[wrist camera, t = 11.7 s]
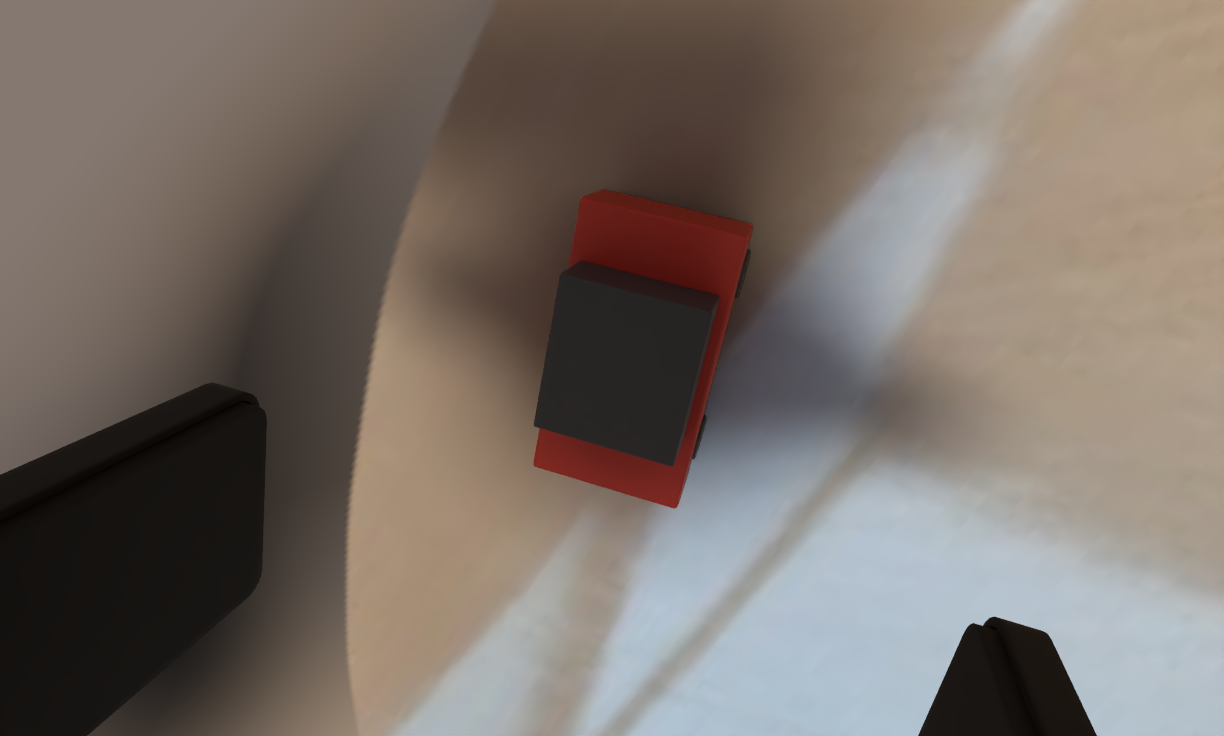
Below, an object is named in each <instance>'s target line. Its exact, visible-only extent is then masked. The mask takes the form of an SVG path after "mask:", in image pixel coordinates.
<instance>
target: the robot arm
mask: <svg viewBox="0 0 1224 736" xmlns="http://www.w3.org/2000/svg"><path fill="white" fill-rule="evenodd" d="M266 427H267V419H266V414H265V411H264V410H263V409H262V408H260V407H259V403H258V401H257V398H256V397H255V396H254V395H252V394H250V393H247V392H243V391H240V390H237V389H234V388H230V387H227V386H223V385H220V384H216V383H209V384H205V385H202V386H200V387H198V388H196V389H193V390H191V391H189V392H187V393H184V394H182V395H180V396H178V397H176V398H173V399H171V400H169V401H166V402H164V403H162V404H159V405H157V406H155V407H153V408H150V409H149V410H146V411H144V412H141V413H139V414H137V415H135V416H132V417H130V418H128V419H126V420H123V421H121V422H119V423H117V424H114V425H112V426H110V427H107V428H105V429H103V430H101V431H98V432H96V433H94V434H92V435H89V436H87V437H85V438H83V439H80V440H78V441H76V442H74V443H71V444H69V445H67V446H65V447H62V448H60V449H58V450H56V451H53V452H51V453H49V454H46V455H44V456H42V457H40V458H37V459H35V460H33V461H31V462H28V463H26V464H24V465H22V466H19V467H17V468H15V469H13V470H10V471H8V472H6V473H3V474H1V475H0V736H87V735H88V734H90V733H91V732H92V731H93V730H94V729H95V728H96V727H98V726H99V725H100V724H101V723H102V722H103V721H105V720H106V719H107V718H108V717H109V716H110V715H112V714H113V713H114V712H115V711H116V710H118V709H119V708H120V707H121V706H122V705H123V704H124V703H126V702H127V701H128V700H129V699H130V698H131V697H133V696H134V695H135V694H136V693H137V692H138V691H140V690H141V689H142V688H143V687H144V686H145V685H147V684H148V683H149V682H150V681H151V680H152V679H153V678H155V677H156V676H157V675H158V674H159V673H161V671H163V670H164V669H165V668H166V667H168V666H169V665H170V664H171V663H172V662H173V661H175V660H176V659H177V658H178V657H179V656H180V655H182V654H183V653H184V652H185V651H186V650H187V649H188V648H190V647H191V646H192V645H193V644H194V643H196V642H197V641H198V640H199V639H200V638H201V637H203V636H204V635H205V634H206V633H207V632H208V631H209V630H211V629H212V628H213V627H214V626H215V625H216V624H218V623H219V622H220V621H221V620H222V619H223V618H225V617H226V616H227V615H228V614H229V613H230V612H231V611H232V610H234V609H235V608H236V607H237V606H239V605H240V604H241V603H242V602H243V601H244V600H245V599H247V598H248V597H249V596H250V595H251V593H252V592H253V591H254V589H255V588H256V586H257V584H258V582H259V579H260V577H261V572H262V552H263V522H264V521H263V520H264V489H265V458H266ZM918 736H1097V735H1096V733H1095V731H1094V729H1093V727H1092V725H1091V722H1090V720H1089V718H1088V716H1087V714H1086V712H1085V710H1084V708H1083V706H1082V703H1081V701H1080V699H1079V697H1078V695H1077V693H1076V691H1075V689H1074V686H1073V684H1072V682H1071V680H1070V678H1069V676H1068V674H1067V672H1066V670H1065V667H1064V665H1063V663H1062V661H1061V659H1060V657H1059V655H1058V653H1057V651H1056V648H1055V646H1054V644H1053V642H1052V640H1051V638H1050V637H1049V635H1048V634H1047V633H1045V632H1043V631H1041V630H1037V629H1034V628H1031V627H1027V626H1024V625H1021V624H1017V623H1014V622H1011V621H1007V620H1004V619H1001V618H997V617H992V618H989V619H988V620H987V621H986V622H985V623H984V625H983V626H981V625H977V624H974V623H973V624H970V625H969V626H968V627H967V629H966V630H965V632H964V634H963V636H962V639H961V641H960V643H959V645H958V648H957V650H956V652H955V654H954V657H953V659H952V661H951V663H950V666H949V668H948V670H947V672H946V675H945V677H944V679H943V681H942V684H941V686H940V688H939V690H938V693H937V695H936V697H935V699H934V702H933V704H932V706H931V708H930V711H929V713H928V715H927V717H926V720H925V722H924V724H923V726H922V728H921V731H920V733H919V735H918Z"/></svg>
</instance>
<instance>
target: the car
mask: <svg viewBox="0 0 1224 736" xmlns="http://www.w3.org/2000/svg"><path fill="white" fill-rule="evenodd" d="M752 231H753V225H751V224H748V223H744V222H740V221H736V220H731V219H727V218H723V217H719V216H715V215H710V214H706V213H702V212H698V211H693V210H689V209H685V208H681V207H677V206H672V205H668V204H664V203H660V202H655V201H651V200H647V199H643V198H639V197H634V196H630V195H626V194H622V193H617V192H613V191H609V190H605V189H603V190H599V191H597V192H594V193H592V194H589V195H586V196H584V197H582V198H581V199H580V205H579V210H578V216H577V222H576V227H575V233H574V238H573V244H572V250H571V255H570V261H569V266H568V269H567V270H565V271H564V272H562V273H561V274H560V277H559V283H558V289H557V294H556V300H555V306H554V311H553V317H552V323H551V329H550V334H549V340H548V346H547V352H546V357H545V363H544V369H543V374H542V380H541V386H540V392H539V397H538V403H537V409H536V414H535V420H534V426H535V427H538V428H540V429H539V435H538V440H537V446H536V452H535V457H534V466H535V467H538V468H541V469H545V470H548V471H551V472H555V473H558V474H561V475H565V476H568V477H571V478H575V479H578V480H581V481H585V482H588V483H591V484H595V485H598V486H601V487H605V488H608V489H611V490H614V491H618V492H621V493H624V494H628V495H631V496H634V497H638V498H641V499H644V500H648V501H651V502H654V503H658V504H661V505H664V506H668V507H671V508H677V506H678V504H679V501H680V498H681V494H682V491H683V488H684V485H685V482H686V479H687V476H688V473H689V469H690V465H691V461H692V459H695V458H696V455H697V452H698V449H699V445H700V442H701V438H702V435H703V431H704V427H705V423H706V419H707V416H706V415H704V412H705V408H706V405H707V401H708V397H709V393H710V389H711V386H712V382H713V378H714V374H715V371H716V367H717V363H718V359H719V356H720V352H721V348H722V344H723V340H724V337H725V333H726V329H727V325H728V322H729V318H730V314H731V310H732V306H733V303H734V299H735V298H737V297H738V296H739V294H740V291H741V288H742V284H743V281H744V277H745V274H746V270H747V266H748V262H749V258H750V254H751V251H750V250H749V249H748V246H749V242H750V239H751V235H752Z"/></svg>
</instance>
